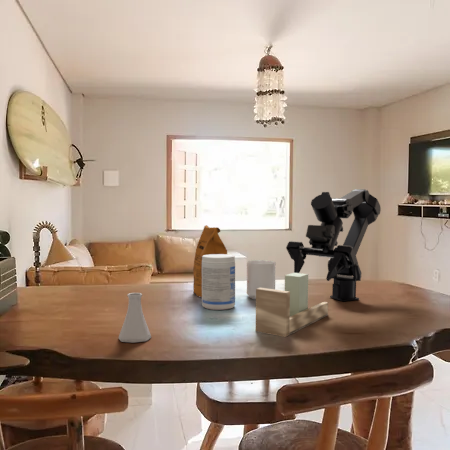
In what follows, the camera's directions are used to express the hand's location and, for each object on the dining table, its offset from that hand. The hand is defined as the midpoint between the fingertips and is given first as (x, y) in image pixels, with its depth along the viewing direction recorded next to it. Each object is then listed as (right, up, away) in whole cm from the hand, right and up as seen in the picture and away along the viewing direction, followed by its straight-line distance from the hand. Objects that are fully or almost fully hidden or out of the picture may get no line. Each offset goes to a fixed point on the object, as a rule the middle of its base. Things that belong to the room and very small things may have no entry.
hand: (310, 277), depth 125 cm
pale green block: (-5, -10, -6) cm, 13 cm away
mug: (-12, -9, +24) cm, 28 cm away
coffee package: (-28, -9, +25) cm, 39 cm away
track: (-5, -10, -6) cm, 13 cm away
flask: (-43, -11, -21) cm, 49 cm away
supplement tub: (-25, -10, +9) cm, 28 cm away
